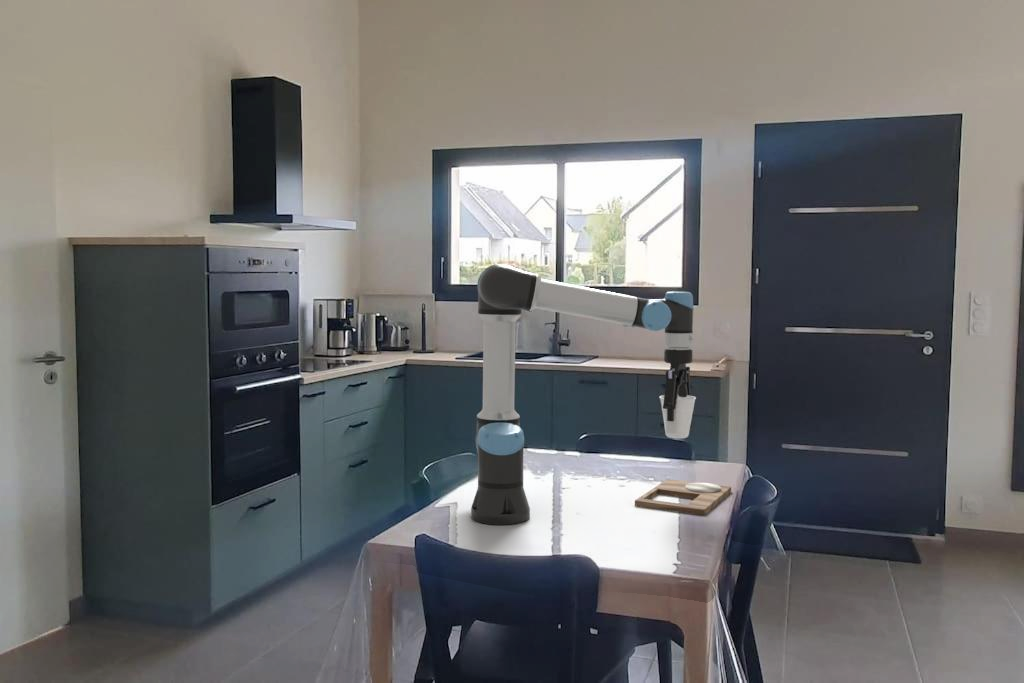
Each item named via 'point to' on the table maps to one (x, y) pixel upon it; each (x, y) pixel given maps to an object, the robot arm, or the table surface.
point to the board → (685, 496)
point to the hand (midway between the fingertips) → (677, 429)
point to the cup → (681, 416)
